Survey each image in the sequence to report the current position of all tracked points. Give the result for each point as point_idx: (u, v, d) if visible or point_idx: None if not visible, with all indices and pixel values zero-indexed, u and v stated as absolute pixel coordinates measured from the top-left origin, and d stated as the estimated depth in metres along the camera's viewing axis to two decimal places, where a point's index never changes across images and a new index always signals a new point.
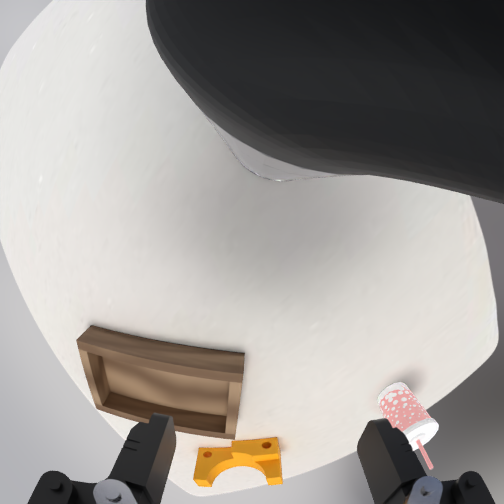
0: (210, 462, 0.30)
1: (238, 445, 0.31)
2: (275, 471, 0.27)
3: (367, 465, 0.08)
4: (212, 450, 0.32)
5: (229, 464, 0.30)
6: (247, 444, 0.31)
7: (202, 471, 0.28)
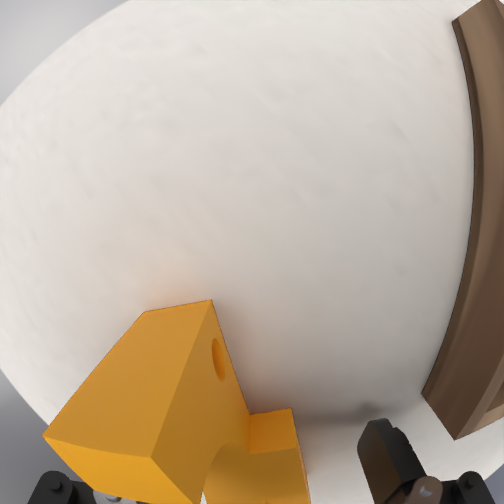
0: (220, 409, 0.06)
1: (296, 436, 0.09)
2: None
3: (367, 465, 0.08)
4: (226, 362, 0.09)
5: None
6: (299, 450, 0.09)
7: (197, 434, 0.04)
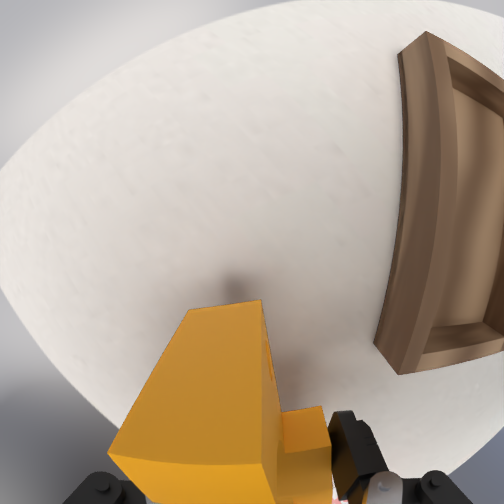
0: (274, 410, 0.07)
1: None
2: None
3: (332, 457, 0.08)
4: (271, 363, 0.09)
5: None
6: None
7: (271, 435, 0.05)
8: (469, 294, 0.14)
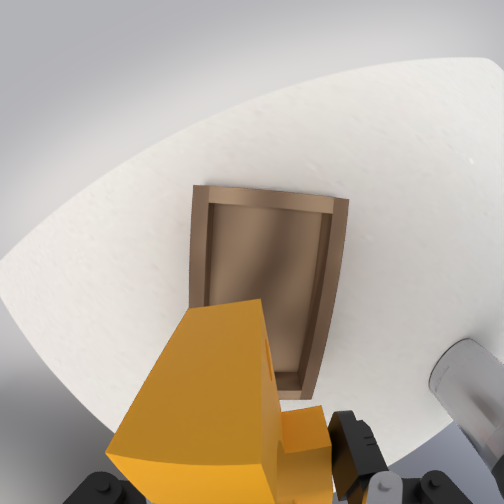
0: (274, 409, 0.06)
1: None
2: None
3: (332, 456, 0.08)
4: (270, 363, 0.09)
5: None
6: None
7: (271, 435, 0.05)
8: (271, 353, 0.25)
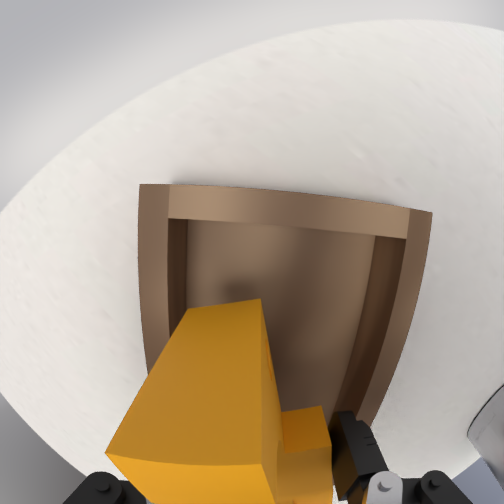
0: (274, 409, 0.06)
1: None
2: None
3: (332, 457, 0.08)
4: (270, 362, 0.09)
5: None
6: None
7: (271, 435, 0.05)
8: None
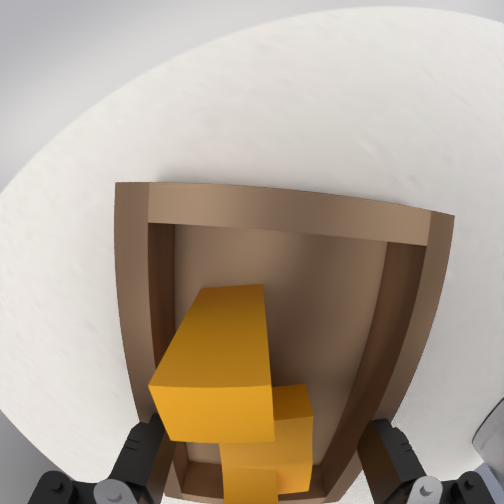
0: None
1: None
2: None
3: (367, 465, 0.08)
4: None
5: None
6: None
7: None
8: None
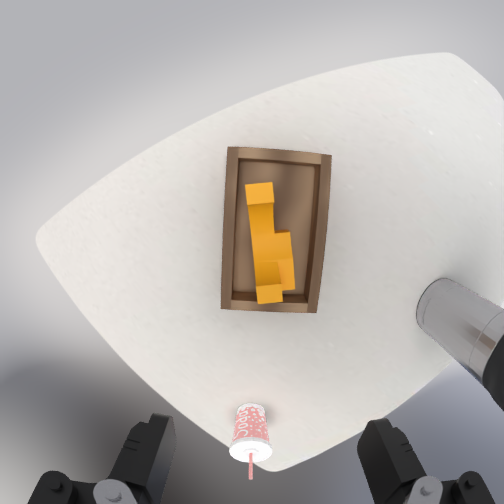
0: None
1: None
2: None
3: (367, 465, 0.08)
4: None
5: (261, 226, 0.30)
6: None
7: None
8: None
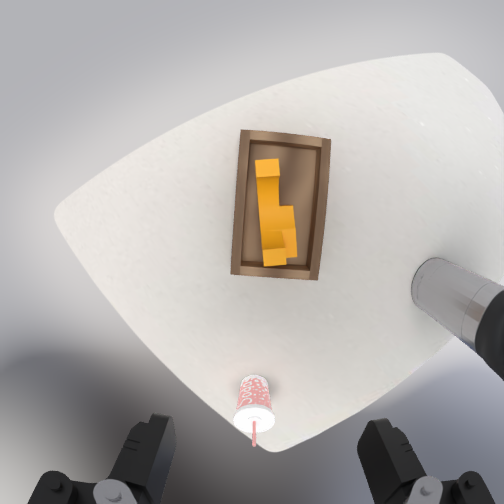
0: None
1: None
2: None
3: (367, 465, 0.08)
4: None
5: (267, 199, 0.33)
6: None
7: None
8: None
